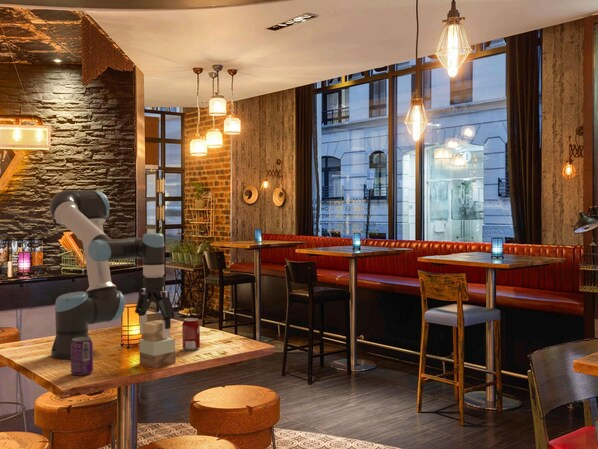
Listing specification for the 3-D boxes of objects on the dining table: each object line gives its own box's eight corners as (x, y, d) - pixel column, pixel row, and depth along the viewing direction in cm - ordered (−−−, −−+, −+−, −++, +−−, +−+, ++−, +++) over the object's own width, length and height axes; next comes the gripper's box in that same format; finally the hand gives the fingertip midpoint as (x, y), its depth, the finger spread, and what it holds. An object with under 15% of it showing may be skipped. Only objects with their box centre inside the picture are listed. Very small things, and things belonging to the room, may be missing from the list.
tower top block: (153, 356, 219) (153, 343, 218) (139, 351, 225) (139, 339, 225) (175, 351, 225) (174, 339, 225) (160, 347, 231) (160, 335, 231)
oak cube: (153, 341, 221) (153, 324, 220) (143, 339, 224) (143, 322, 224) (167, 338, 225) (166, 322, 225) (156, 336, 229) (156, 320, 229)
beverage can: (95, 370, 216) (95, 336, 215) (89, 376, 209) (88, 340, 208) (75, 370, 216) (74, 336, 215) (68, 376, 208) (67, 341, 208)
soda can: (196, 351, 243) (195, 321, 242) (179, 350, 244) (179, 320, 244) (202, 347, 249) (202, 317, 249) (186, 346, 251) (186, 317, 250)
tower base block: (155, 368, 219) (155, 355, 219) (139, 364, 225) (139, 351, 225) (175, 363, 226) (175, 350, 226) (159, 359, 232) (159, 347, 232)
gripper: (184, 277, 220) (185, 338, 221) (141, 272, 235) (142, 329, 236) (167, 279, 214) (168, 341, 215) (124, 274, 229) (125, 332, 230)
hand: (154, 335), depth 225 cm, fingers open, 12 cm apart
